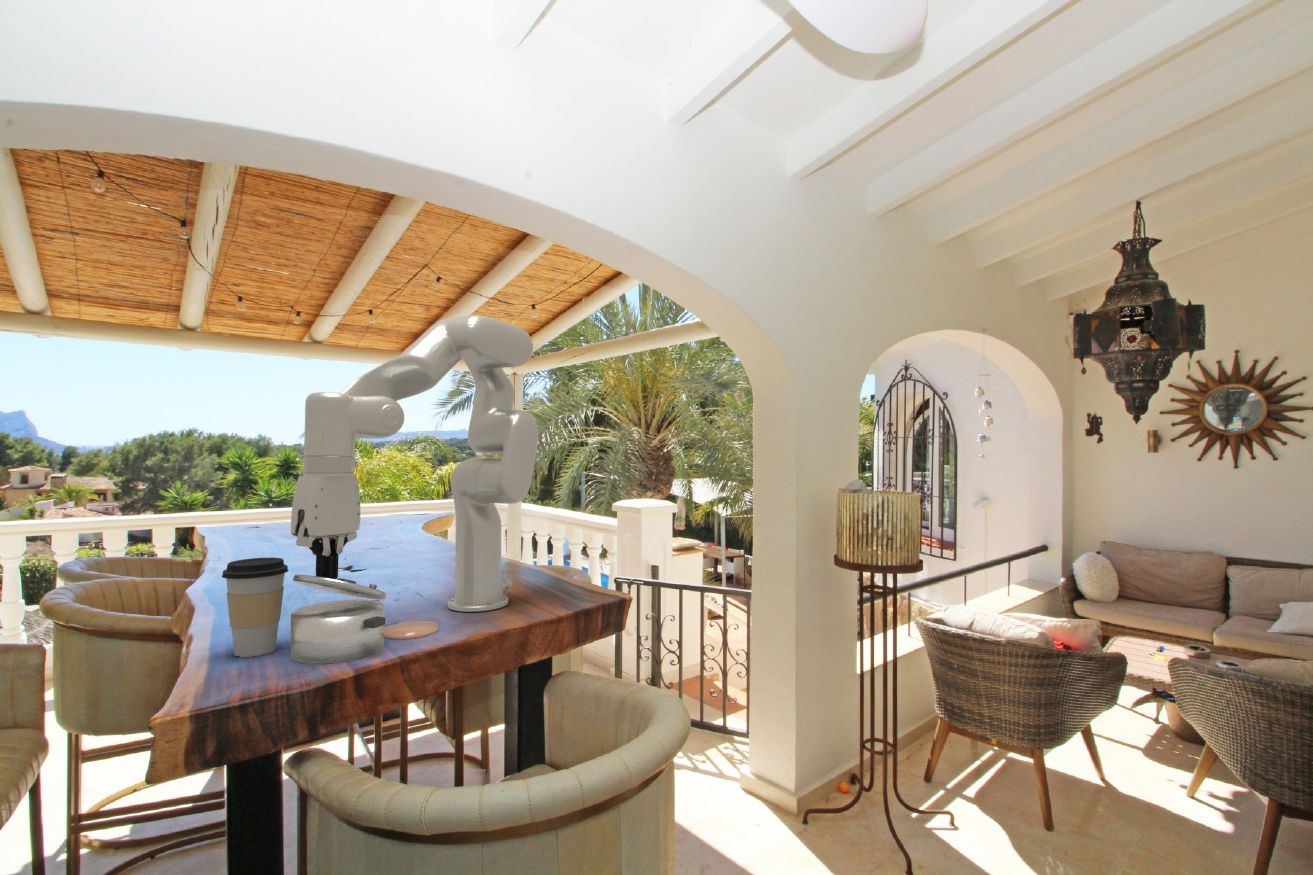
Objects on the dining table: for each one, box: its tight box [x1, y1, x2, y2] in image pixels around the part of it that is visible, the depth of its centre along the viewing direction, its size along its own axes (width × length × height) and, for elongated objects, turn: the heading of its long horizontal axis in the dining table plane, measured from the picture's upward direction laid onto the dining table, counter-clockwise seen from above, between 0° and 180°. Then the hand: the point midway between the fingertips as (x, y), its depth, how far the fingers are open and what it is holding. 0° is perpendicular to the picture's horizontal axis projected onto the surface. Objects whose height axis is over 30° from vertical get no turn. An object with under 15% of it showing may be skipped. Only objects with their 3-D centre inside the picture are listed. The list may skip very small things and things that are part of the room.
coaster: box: [384, 620, 440, 640], centre depth 118 cm, size 10×10×1 cm
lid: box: [292, 574, 387, 601], centre depth 107 cm, size 15×15×2 cm
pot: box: [289, 598, 386, 665], centre depth 107 cm, size 14×18×7 cm
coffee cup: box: [221, 557, 290, 658], centre depth 106 cm, size 9×9×15 cm
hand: (326, 578), depth 105 cm, fingers closed
